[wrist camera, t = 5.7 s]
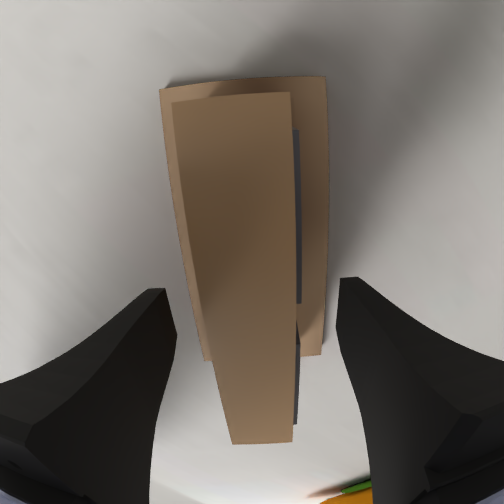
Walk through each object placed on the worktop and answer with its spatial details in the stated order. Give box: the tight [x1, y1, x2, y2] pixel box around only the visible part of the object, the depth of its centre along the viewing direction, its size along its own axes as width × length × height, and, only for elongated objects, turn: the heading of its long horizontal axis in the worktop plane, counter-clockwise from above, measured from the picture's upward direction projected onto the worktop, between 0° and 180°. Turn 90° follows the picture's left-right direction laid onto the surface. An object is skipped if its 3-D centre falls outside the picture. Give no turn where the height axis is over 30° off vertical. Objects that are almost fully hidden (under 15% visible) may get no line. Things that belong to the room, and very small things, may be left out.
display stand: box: [159, 76, 329, 361], centre depth 14 cm, size 7×15×3 cm, turn 4°
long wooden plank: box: [171, 92, 302, 444], centre depth 11 cm, size 3×13×4 cm, turn 4°
